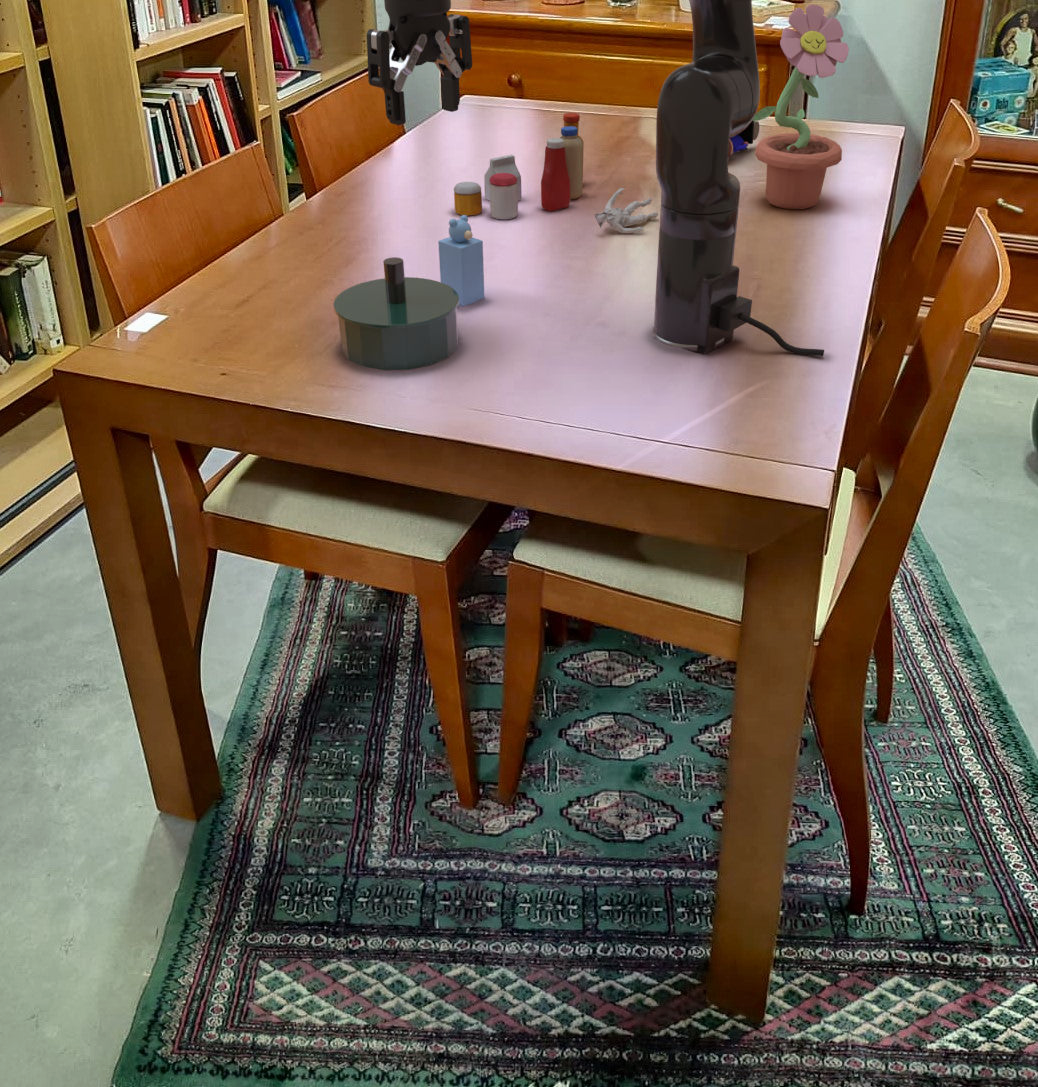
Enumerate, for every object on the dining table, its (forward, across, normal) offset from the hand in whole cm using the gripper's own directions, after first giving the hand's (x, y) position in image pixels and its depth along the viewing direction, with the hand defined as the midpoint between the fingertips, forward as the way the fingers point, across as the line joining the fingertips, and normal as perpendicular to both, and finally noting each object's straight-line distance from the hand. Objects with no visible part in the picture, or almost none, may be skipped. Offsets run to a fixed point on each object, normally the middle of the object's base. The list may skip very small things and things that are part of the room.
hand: (424, 117), depth 135 cm
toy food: (+26, +45, +25) cm, 58 cm away
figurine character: (+26, +90, +16) cm, 95 cm away
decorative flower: (+26, +73, -8) cm, 78 cm away
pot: (+26, -9, -3) cm, 28 cm away
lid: (+20, -9, -3) cm, 22 cm away
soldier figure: (+26, +46, +5) cm, 53 cm away
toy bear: (+26, +7, +2) cm, 27 cm away
